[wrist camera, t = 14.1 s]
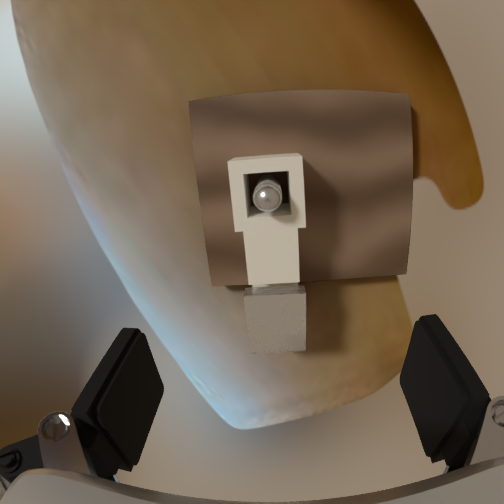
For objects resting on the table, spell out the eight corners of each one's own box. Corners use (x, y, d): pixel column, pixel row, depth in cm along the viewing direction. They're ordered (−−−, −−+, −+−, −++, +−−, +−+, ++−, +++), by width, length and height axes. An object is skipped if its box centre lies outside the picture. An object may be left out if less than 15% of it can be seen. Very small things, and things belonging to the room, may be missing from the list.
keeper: (248, 268, 29) (243, 296, 24) (300, 265, 29) (306, 293, 24) (254, 319, 32) (250, 353, 26) (301, 317, 31) (305, 350, 26)
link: (234, 157, 24) (227, 161, 20) (297, 153, 24) (302, 156, 20) (249, 298, 29) (245, 321, 25) (303, 295, 28) (307, 318, 25)
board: (193, 102, 24) (188, 101, 23) (402, 95, 22) (409, 94, 21) (214, 279, 30) (212, 286, 29) (400, 267, 28) (406, 274, 27)
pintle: (255, 175, 25) (250, 186, 19) (279, 173, 24) (281, 184, 19) (257, 198, 25) (253, 216, 20) (281, 197, 25) (283, 214, 20)
